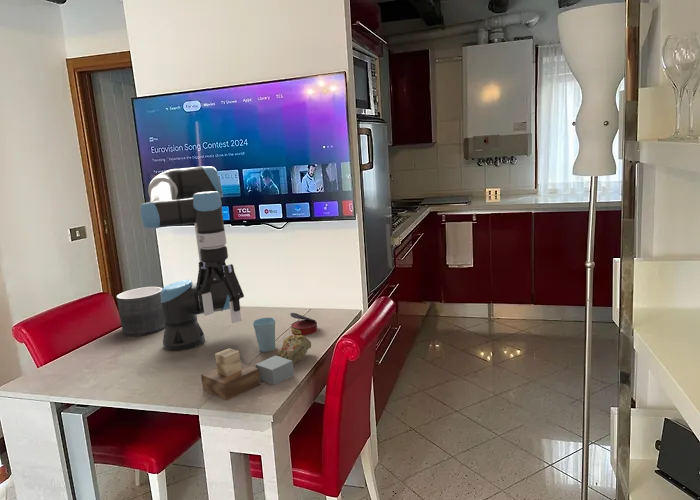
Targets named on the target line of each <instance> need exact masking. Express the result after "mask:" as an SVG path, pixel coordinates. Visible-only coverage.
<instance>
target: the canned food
mask: <svg viewBox="0 0 700 500" xmlns="http://www.w3.org/2000/svg"><path fill="white" fill-rule="evenodd" d="M289 315H290V317H292V318H294V319H298V320H296V321H294V322H292V323H291V324H290V328H291V333H292V334H293V335H296V336H297V335H303V336H308V335H312V334H315V333H317V332H318V322H317V320H316V319H313V318H309V317H307V316H304V315H301V314H298V313H296V312H290V314H289ZM292 334H291V335H292Z"/></svg>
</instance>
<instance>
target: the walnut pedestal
mask: <svg viewBox="0 0 700 500" xmlns="http://www.w3.org/2000/svg"><path fill="white" fill-rule="evenodd" d="M240 363H241V371H239V372H237V373H235V374H232V375H230V376H228V377H227V376H225V375H222V374H219V373H218V372H217V367H216V368H213V369H211V370H208V371H206V372H203V373H201V374H200V377H201V385H202V390H203V391H205V392H207V393H209V394H211V395H214V396H216V397H219V398H221V399H223V400H225V401H228V400H230V399H232V398H235V397H237V396H239V395H241V394H244V393H246V392H247V391H250V390H251V389H252V390H253V388H256V387H258V386H260V385H261V380H260V378H259V370H258V368H256V366H251V365H249V364H246V363H242V362H240Z"/></svg>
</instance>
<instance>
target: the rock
mask: <svg viewBox="0 0 700 500" xmlns="http://www.w3.org/2000/svg"><path fill="white" fill-rule="evenodd" d="M311 347H312V342H311V341H310V340H309V339H308V338H307V337H306V335H294V334H293V335H292V334H291V335H289V336H287V337H285V338H284V340H283V341H282V346H281V348H280V349H279V350H278V356H279V357H282V358H285V359H288V360H292V362H293V365H295V364H296V363H297V362H300V361H301V359H302V360H303V359H304V358H305V357H306V355H307V351H308V350H309V349H311ZM299 360H300V361H299ZM294 363H295V364H294Z"/></svg>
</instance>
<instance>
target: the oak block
mask: <svg viewBox="0 0 700 500" xmlns="http://www.w3.org/2000/svg"><path fill="white" fill-rule="evenodd" d="M214 357H215V364H216V368H217V372H218V373H219V374H222V375H225V376H227V377H228V376H230V375H232V374H235V373H237V372H239V371H241V363H242V362H241V356H240V351H239V350H235V349H232V348H226V349H224V350H221V351H218V352H216V353H214Z"/></svg>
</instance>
